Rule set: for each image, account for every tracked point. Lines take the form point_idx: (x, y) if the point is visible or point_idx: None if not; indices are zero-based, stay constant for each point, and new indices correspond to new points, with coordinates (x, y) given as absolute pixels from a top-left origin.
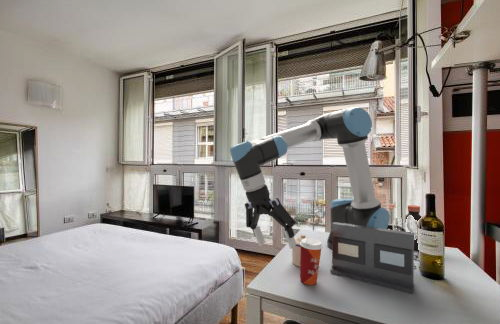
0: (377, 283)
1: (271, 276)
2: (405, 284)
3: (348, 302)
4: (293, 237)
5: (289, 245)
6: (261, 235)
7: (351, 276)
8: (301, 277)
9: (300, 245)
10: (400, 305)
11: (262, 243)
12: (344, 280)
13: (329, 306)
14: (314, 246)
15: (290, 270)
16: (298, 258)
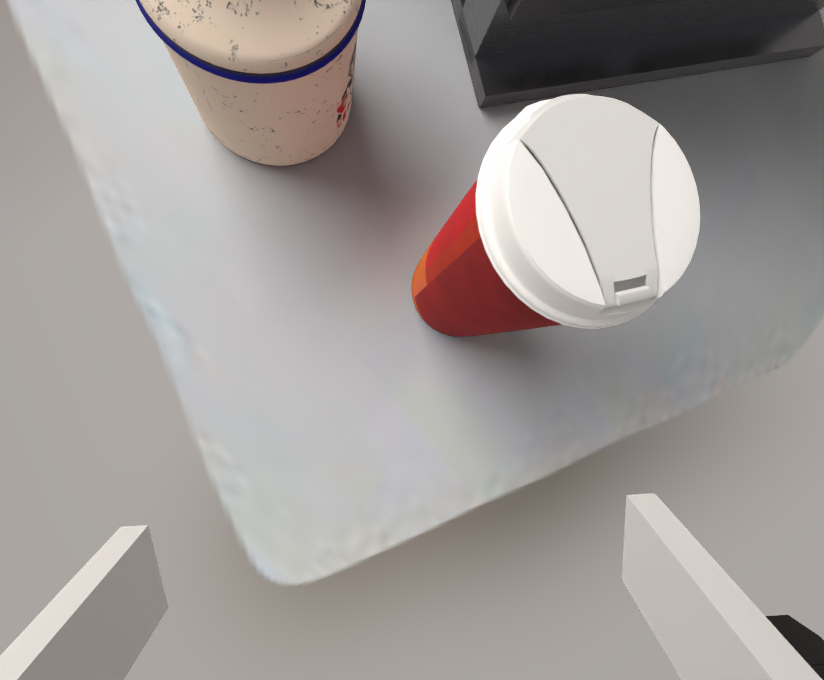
0: (699, 70)
1: (259, 409)
2: (796, 11)
3: (684, 321)
4: (713, 568)
5: (647, 611)
6: (74, 643)
7: (590, 84)
8: (449, 332)
9: (297, 68)
10: (813, 186)
11: (152, 585)
12: None
13: (651, 414)
14: (681, 272)
15: (289, 250)
16: (287, 138)
